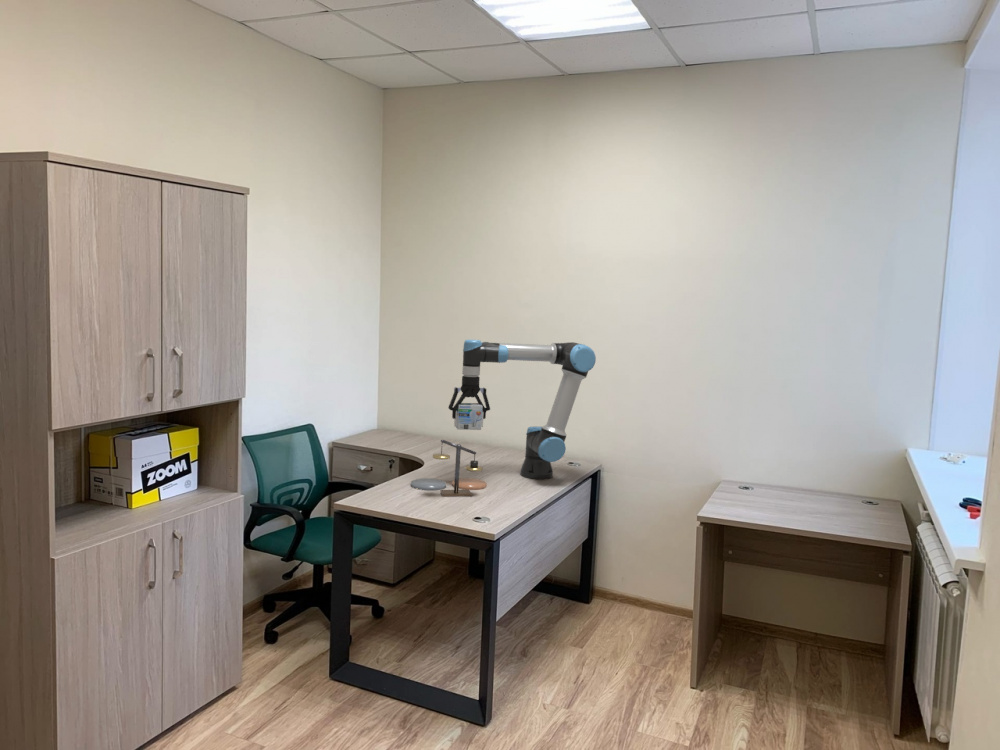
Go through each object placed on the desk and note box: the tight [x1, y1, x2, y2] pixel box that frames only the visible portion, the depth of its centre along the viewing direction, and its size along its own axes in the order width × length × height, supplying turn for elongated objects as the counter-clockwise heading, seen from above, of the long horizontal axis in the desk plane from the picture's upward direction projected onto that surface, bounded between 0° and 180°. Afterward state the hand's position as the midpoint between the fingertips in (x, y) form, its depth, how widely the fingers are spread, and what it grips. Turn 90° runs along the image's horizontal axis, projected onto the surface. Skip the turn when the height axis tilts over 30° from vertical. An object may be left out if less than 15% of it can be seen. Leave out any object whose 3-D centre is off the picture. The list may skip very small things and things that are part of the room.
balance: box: [432, 439, 483, 498], centre depth 316 cm, size 21×7×23 cm, turn 106°
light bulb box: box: [455, 402, 483, 431], centre depth 332 cm, size 11×7×11 cm, turn 104°
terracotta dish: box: [451, 477, 488, 491], centre depth 333 cm, size 15×15×1 cm
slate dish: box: [410, 477, 447, 491], centre depth 328 cm, size 15×15×1 cm
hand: (468, 426), depth 332 cm, fingers closed on light bulb box, 11 cm apart
